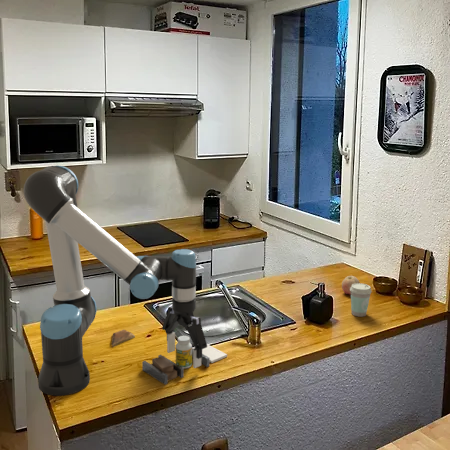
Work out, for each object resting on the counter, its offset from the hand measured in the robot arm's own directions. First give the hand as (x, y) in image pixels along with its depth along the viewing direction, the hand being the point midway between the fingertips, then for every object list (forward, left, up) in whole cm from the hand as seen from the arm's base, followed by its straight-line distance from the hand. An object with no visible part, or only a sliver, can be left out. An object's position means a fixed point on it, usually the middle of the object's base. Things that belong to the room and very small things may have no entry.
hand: (183, 358), depth 180 cm
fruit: (+98, +3, -2) cm, 98 cm away
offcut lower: (-8, 0, -3) cm, 9 cm away
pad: (+11, 0, -2) cm, 12 cm away
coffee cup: (+81, -13, -2) cm, 82 cm away
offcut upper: (-9, 0, 0) cm, 9 cm away
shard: (-5, +29, -3) cm, 30 cm away
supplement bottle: (0, 0, -2) cm, 2 cm away
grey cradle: (-3, 0, -2) cm, 4 cm away
